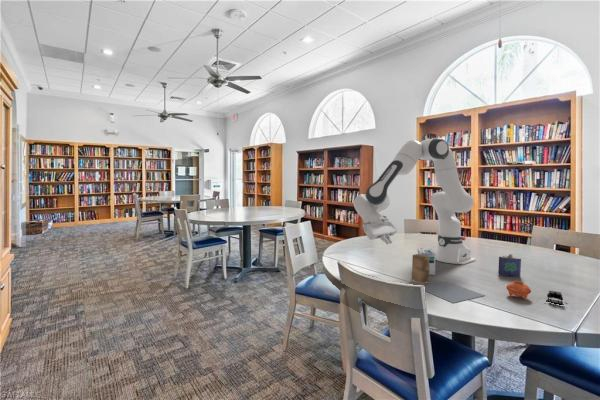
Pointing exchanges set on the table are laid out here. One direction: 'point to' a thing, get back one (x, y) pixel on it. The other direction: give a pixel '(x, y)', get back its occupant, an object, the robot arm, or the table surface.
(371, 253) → the table surface
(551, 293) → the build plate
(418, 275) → the walnut block
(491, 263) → the table surface
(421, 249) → the light bulb box
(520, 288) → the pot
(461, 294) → the mat
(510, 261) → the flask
